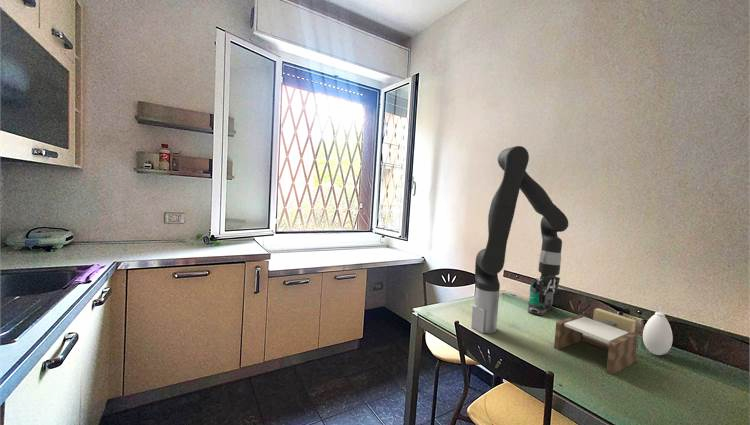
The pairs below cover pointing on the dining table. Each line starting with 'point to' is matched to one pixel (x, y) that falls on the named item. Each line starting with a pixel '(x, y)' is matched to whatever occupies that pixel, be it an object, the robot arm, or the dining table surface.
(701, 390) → the dining table surface
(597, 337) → the trapdoor
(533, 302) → the sneaker
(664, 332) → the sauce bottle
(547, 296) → the cylinder
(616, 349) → the frame
